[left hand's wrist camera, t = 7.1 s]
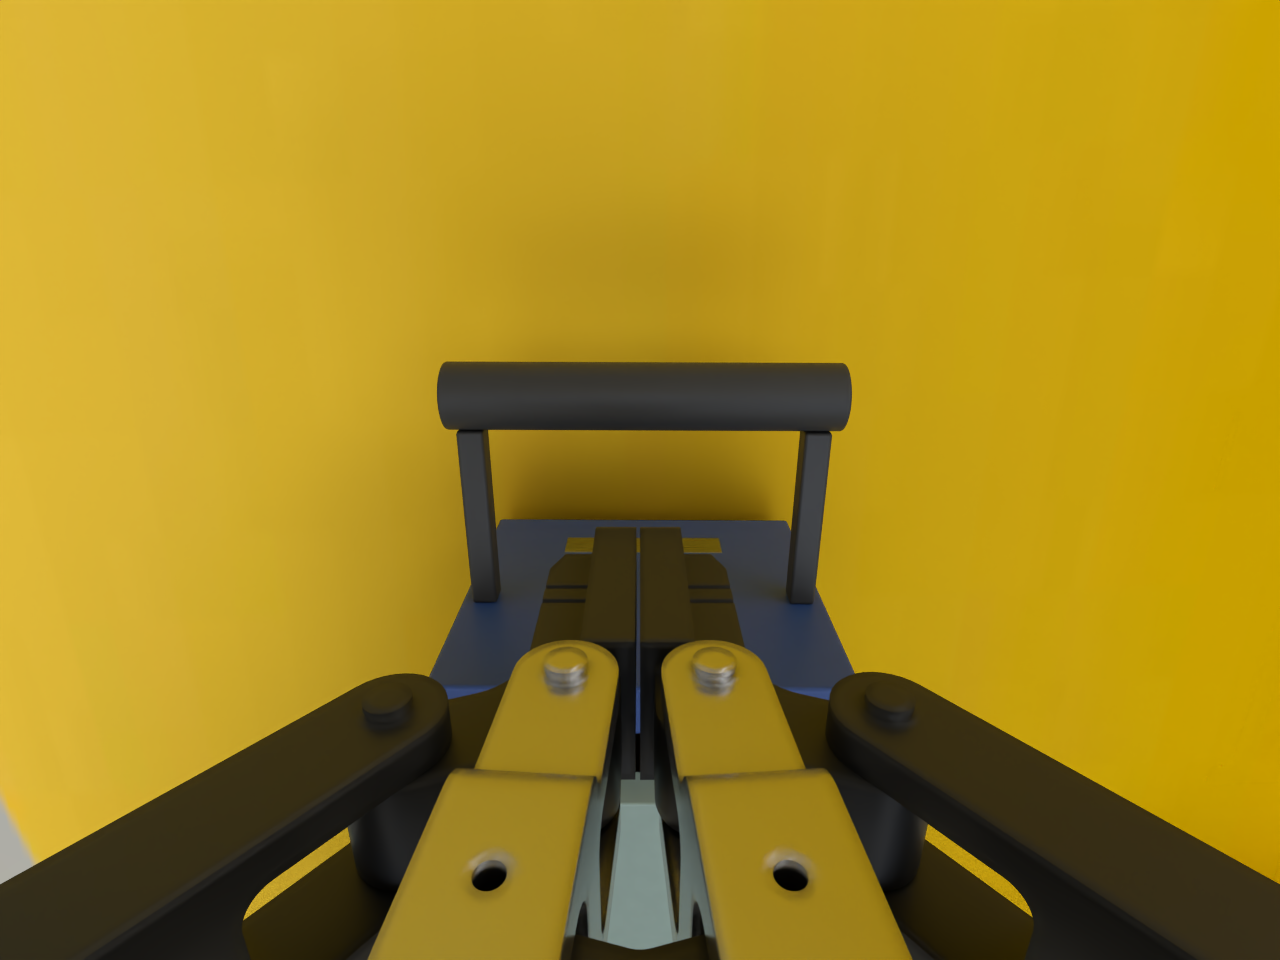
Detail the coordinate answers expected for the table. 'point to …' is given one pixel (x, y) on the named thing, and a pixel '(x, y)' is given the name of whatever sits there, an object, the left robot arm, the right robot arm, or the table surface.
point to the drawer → (749, 550)
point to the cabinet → (639, 873)
